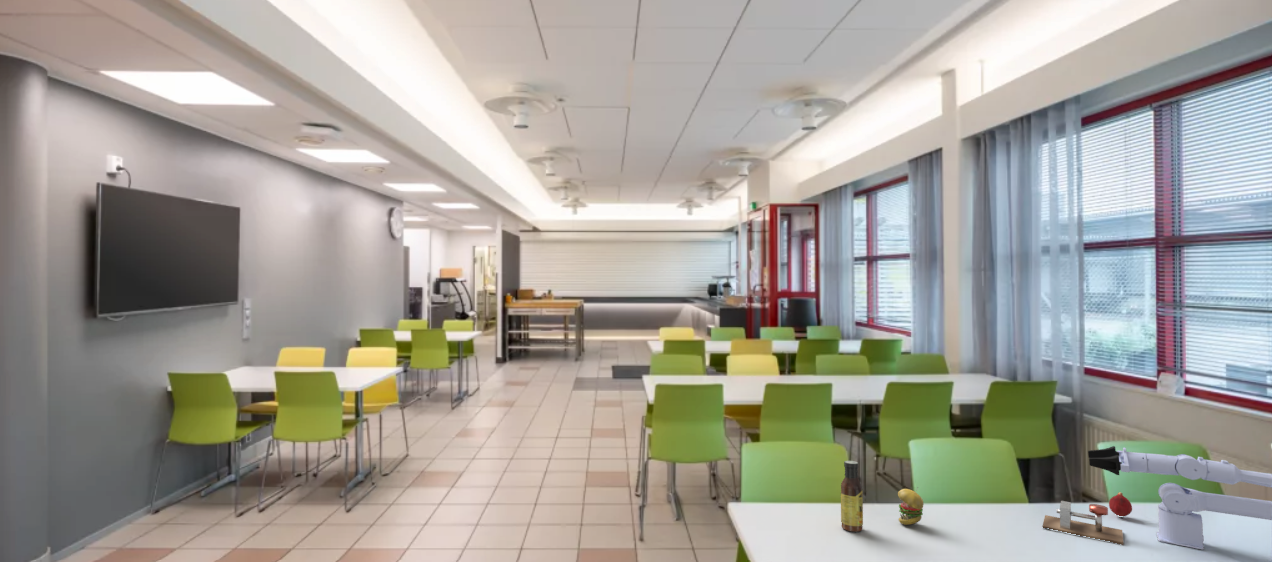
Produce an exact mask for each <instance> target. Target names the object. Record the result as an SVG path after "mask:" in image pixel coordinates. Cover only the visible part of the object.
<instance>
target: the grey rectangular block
mask: <svg viewBox="0 0 1272 562" xmlns="http://www.w3.org/2000/svg"><path fill="white" fill-rule="evenodd" d="M1071 504H1072V503H1071V501H1070V502H1069V501H1064V500H1061V501H1060V505H1059V509H1060V513H1059V518H1060V528H1065V529H1070V526H1071V520H1072V516H1070V511H1071V512H1072V505H1071Z"/></svg>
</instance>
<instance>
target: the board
mask: <svg viewBox="0 0 1272 562" xmlns="http://www.w3.org/2000/svg"><path fill="white" fill-rule="evenodd" d="M1041 527H1043V528H1049V529H1053V530H1058V531H1062V532H1067V533H1071V534H1076V535H1080V536H1079V537H1081V536H1086V537H1090V538H1095V539H1100V540H1105V541H1110V542H1113V543H1112V544H1115V543H1117V544H1116V545H1120V544H1121V545H1120V546H1124V534H1123V533H1124V532H1123V529H1119V528H1115V527H1114V528H1113V527H1109V526H1104V525H1102V531H1097V530H1095V523H1089V522H1083V521H1077V520H1073V519H1071V526H1070V529H1065V528H1060V517H1057V516H1054V515H1053V516H1051V515H1046V514H1045V515H1044V518H1043V523H1042V526H1041ZM1071 534H1070V535H1071ZM1076 535H1075V536H1076ZM1086 537H1085V538H1086ZM1090 538H1089V539H1090ZM1095 539H1094V540H1095ZM1100 540H1099V541H1100ZM1105 541H1104V542H1105ZM1110 542H1109V543H1110Z"/></svg>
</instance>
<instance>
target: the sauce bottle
mask: <svg viewBox="0 0 1272 562" xmlns="http://www.w3.org/2000/svg"><path fill="white" fill-rule="evenodd" d="M843 462H844V463H843V466H844V478H843V480H841V484H840V522H841V528H842V529H843V530H845V531H847V532H852V533H853V532H854V533H857V532H858V533H859V532H861V531H863V527H864V526H863V525H864V512H863V511H864V504H863V503H864V500H863V499H864V498H863V497H864V496H863V491H864V490H863V488H862V487H863V486H862V484H861V481H860V477H859V472H858V471H859V462H857V461H854V460H844V461H843Z"/></svg>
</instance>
